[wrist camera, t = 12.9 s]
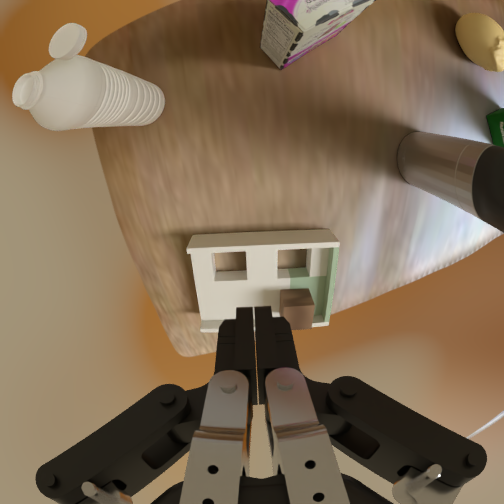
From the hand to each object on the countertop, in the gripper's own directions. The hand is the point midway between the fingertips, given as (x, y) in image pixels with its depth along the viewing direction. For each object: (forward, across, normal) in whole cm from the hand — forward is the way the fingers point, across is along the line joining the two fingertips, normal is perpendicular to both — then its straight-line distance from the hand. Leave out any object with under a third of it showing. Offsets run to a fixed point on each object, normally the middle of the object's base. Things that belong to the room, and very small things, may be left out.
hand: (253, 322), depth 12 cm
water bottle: (+29, +13, -14) cm, 35 cm away
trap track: (+29, -2, +14) cm, 32 cm away
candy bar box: (+29, -8, -22) cm, 37 cm away
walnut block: (+26, -7, +18) cm, 32 cm away
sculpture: (+29, -43, -31) cm, 61 cm away
